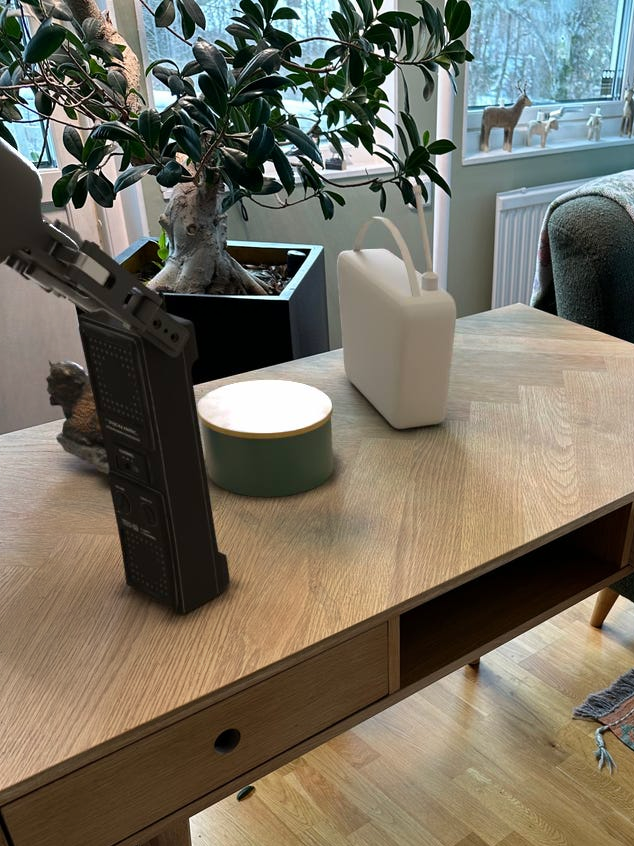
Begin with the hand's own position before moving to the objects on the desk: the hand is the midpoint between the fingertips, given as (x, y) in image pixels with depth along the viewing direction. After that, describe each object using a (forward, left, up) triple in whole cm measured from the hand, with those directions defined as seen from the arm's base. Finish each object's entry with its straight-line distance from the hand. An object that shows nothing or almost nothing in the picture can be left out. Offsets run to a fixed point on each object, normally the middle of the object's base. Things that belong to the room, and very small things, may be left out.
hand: (148, 330), depth 63 cm
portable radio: (0, -1, -22) cm, 22 cm away
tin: (-12, +18, -22) cm, 31 cm away
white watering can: (-16, +41, -22) cm, 50 cm away
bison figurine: (-23, +6, -22) cm, 32 cm away
